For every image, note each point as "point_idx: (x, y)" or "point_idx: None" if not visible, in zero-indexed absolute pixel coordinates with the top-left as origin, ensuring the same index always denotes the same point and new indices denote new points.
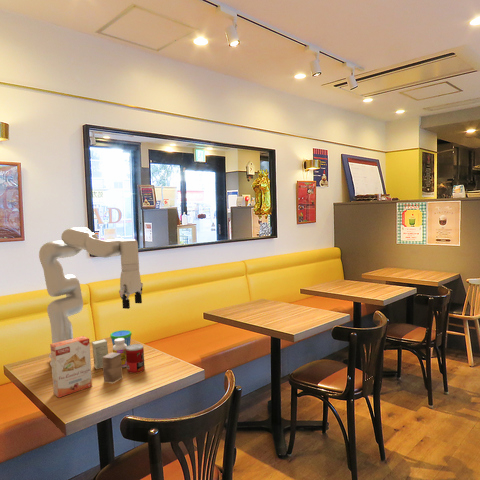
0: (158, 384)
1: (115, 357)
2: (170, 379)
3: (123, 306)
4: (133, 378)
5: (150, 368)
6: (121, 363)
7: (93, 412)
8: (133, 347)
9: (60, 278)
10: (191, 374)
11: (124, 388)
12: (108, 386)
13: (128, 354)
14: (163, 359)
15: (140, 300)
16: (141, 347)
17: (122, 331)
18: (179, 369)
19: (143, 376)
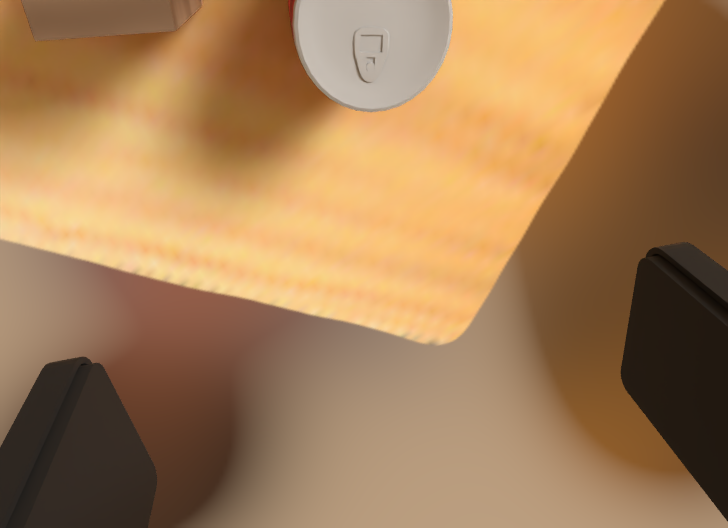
0: (236, 272)
1: (95, 34)
2: (311, 287)
3: (42, 412)
4: (231, 89)
5: None
6: (188, 18)
7: None
8: (370, 15)
9: None
10: (398, 335)
11: (97, 140)
12: None
13: (291, 11)
14: (560, 68)
15: (658, 429)
16: (377, 109)
17: None
18: (437, 253)
19: (283, 130)
